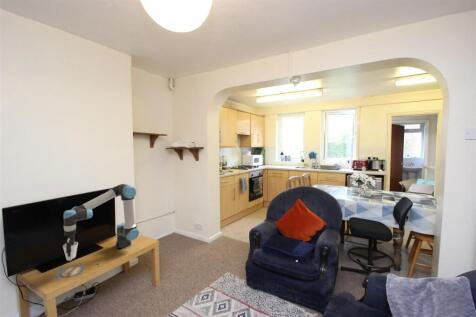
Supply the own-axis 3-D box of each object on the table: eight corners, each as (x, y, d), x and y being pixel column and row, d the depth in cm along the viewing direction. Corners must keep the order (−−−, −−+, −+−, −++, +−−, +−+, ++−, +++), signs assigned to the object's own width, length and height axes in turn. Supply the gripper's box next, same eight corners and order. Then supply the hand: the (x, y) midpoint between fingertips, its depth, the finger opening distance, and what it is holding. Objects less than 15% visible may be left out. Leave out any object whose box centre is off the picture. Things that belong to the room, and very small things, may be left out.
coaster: (82, 266, 189) (82, 265, 189) (79, 274, 177) (79, 273, 177) (64, 269, 184) (63, 269, 184) (59, 278, 172) (59, 277, 172)
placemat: (85, 264, 192) (85, 264, 192) (81, 275, 178) (81, 274, 178) (59, 269, 184) (59, 269, 184) (53, 280, 170) (53, 280, 170)
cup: (66, 262, 173) (65, 248, 172) (60, 258, 178) (60, 245, 177) (80, 256, 181) (80, 243, 180) (75, 253, 186) (74, 240, 186)
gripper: (67, 226, 186) (68, 252, 187) (60, 235, 167) (61, 264, 168) (78, 224, 189) (79, 250, 191) (72, 234, 170) (73, 262, 172)
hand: (71, 257), depth 180 cm, fingers closed on cup, 8 cm apart
